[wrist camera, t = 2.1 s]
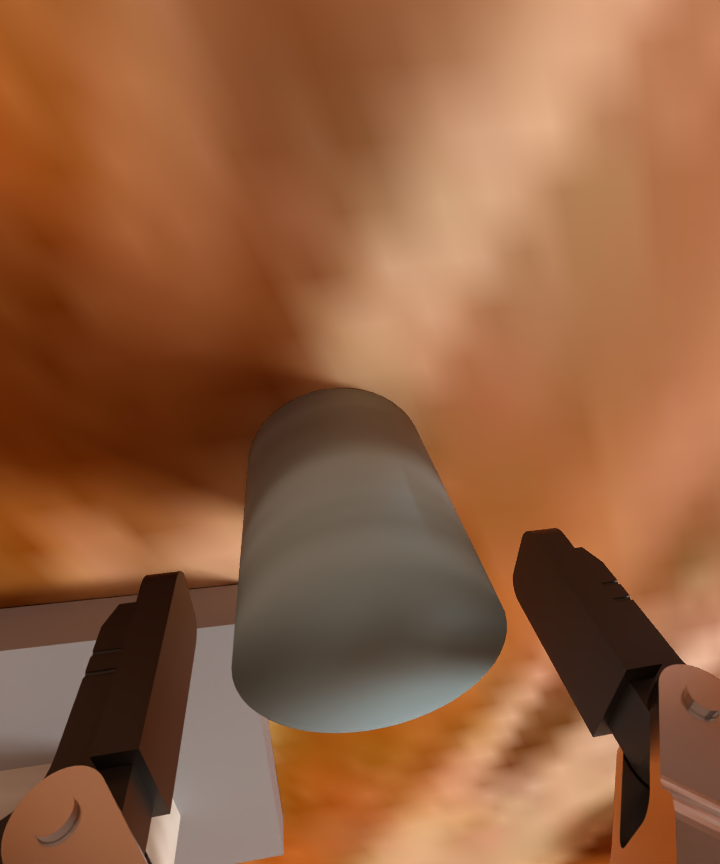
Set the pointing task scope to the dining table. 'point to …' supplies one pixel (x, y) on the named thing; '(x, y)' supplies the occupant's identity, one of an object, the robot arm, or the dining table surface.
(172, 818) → the base block
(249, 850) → the tower board
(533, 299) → the dining table surface
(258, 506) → the cylinder
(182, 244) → the dining table surface
